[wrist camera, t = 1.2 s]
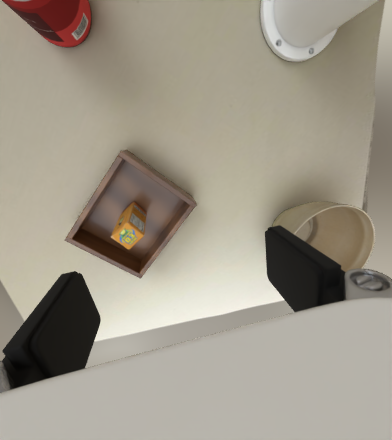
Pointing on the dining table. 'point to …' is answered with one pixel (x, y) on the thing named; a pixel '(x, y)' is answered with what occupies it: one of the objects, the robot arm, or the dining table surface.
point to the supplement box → (130, 226)
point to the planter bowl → (333, 231)
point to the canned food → (56, 19)
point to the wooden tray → (118, 201)
